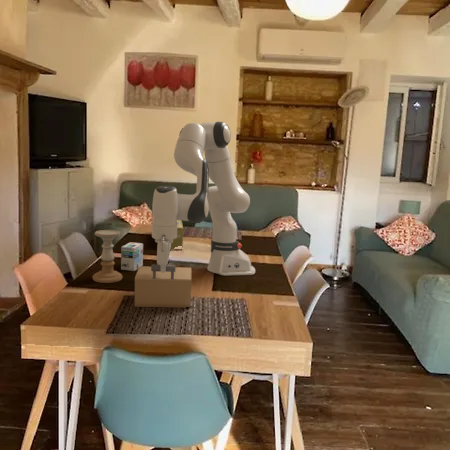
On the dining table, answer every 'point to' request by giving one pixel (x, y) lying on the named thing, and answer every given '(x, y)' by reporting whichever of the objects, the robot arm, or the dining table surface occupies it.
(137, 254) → the light bulb box
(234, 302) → the dining table surface
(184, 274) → the cardboard box lid
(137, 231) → the dining table surface
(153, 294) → the carton
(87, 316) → the dining table surface
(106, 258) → the candle holder
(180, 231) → the soda box
